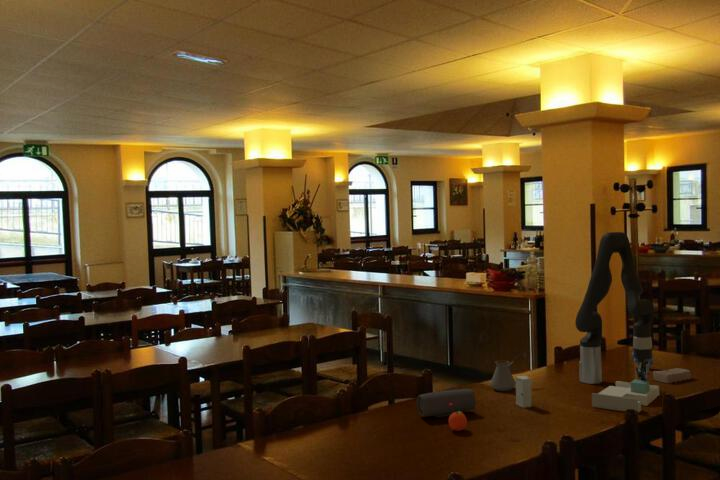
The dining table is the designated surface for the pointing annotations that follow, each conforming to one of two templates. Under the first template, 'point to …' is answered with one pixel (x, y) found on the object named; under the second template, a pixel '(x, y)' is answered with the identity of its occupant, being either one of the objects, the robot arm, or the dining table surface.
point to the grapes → (648, 360)
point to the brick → (672, 375)
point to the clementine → (457, 421)
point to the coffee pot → (503, 375)
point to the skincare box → (523, 391)
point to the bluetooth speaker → (445, 402)
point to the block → (640, 386)
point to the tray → (623, 397)
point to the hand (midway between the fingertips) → (643, 386)
